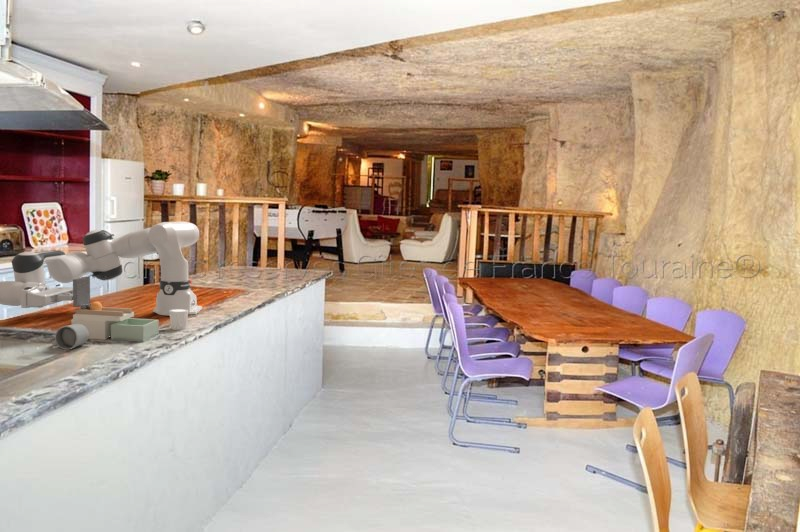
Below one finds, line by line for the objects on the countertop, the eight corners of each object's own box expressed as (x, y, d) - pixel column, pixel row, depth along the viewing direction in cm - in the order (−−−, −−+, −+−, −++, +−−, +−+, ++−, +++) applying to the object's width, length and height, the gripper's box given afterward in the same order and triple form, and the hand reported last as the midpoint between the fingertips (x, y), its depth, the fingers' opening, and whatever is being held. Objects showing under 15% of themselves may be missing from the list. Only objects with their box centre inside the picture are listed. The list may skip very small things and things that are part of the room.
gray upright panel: (86, 309, 234) (85, 276, 232) (95, 309, 233) (95, 277, 232) (73, 313, 226) (72, 279, 224) (82, 313, 226) (82, 279, 224)
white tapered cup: (182, 330, 242) (182, 312, 242) (165, 329, 244) (165, 311, 243) (191, 327, 249) (191, 309, 248) (175, 325, 250) (175, 308, 250)
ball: (93, 311, 231) (93, 300, 231) (104, 312, 231) (104, 301, 231) (87, 313, 228) (87, 302, 227) (98, 314, 227) (98, 302, 227)
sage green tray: (127, 332, 235) (127, 318, 235) (158, 334, 234) (158, 319, 234) (111, 339, 224) (111, 324, 223) (143, 341, 223) (143, 326, 222)
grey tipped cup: (91, 344, 216) (90, 322, 216) (77, 350, 208) (76, 326, 207) (60, 343, 217) (59, 320, 216) (45, 349, 209) (44, 325, 208)
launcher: (90, 330, 237) (90, 305, 236) (135, 333, 235) (135, 307, 234) (71, 337, 225) (71, 310, 224) (118, 340, 223) (118, 313, 222)
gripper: (54, 299, 240) (90, 301, 239) (18, 308, 219) (57, 311, 218) (54, 282, 239) (90, 284, 238) (18, 290, 219) (57, 293, 218)
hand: (74, 297), depth 228 cm, fingers closed
